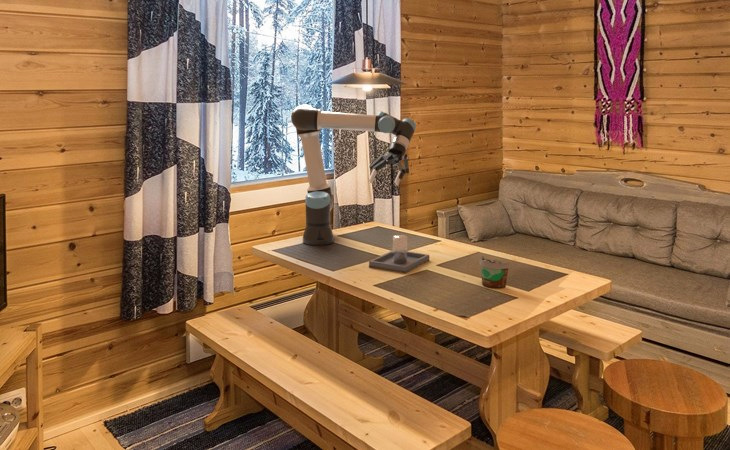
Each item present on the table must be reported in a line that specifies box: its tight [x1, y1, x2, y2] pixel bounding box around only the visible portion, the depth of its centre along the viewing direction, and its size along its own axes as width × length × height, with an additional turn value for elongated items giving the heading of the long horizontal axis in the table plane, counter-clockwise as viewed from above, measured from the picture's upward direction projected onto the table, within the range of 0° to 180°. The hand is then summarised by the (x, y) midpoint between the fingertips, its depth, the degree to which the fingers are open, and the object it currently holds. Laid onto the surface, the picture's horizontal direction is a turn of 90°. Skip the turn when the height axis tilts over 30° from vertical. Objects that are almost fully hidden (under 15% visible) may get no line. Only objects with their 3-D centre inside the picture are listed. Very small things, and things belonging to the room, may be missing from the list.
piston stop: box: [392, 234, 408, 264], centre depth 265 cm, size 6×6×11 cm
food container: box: [478, 256, 511, 290], centre depth 235 cm, size 12×6×10 cm, turn 45°
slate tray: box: [368, 250, 430, 274], centre depth 266 cm, size 17×22×2 cm
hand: (382, 182), depth 289 cm, fingers open, 13 cm apart
